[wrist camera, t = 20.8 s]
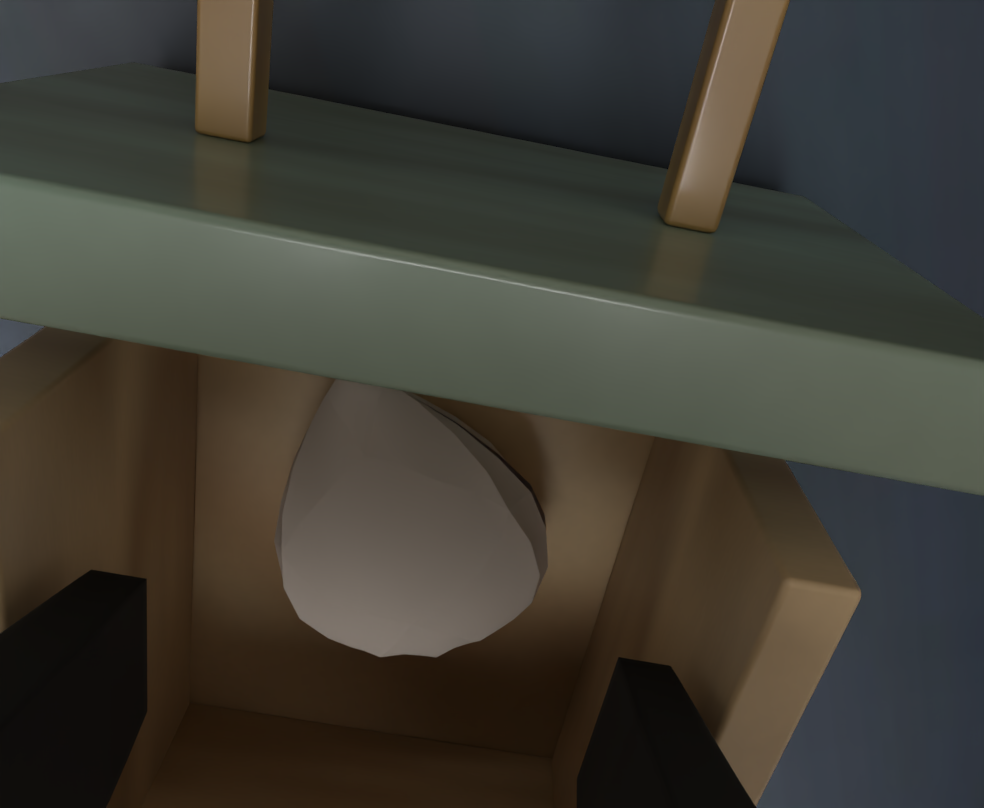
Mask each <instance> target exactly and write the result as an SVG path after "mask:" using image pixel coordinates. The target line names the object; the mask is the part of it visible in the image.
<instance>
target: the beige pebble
mask: <svg viewBox="0 0 984 808" xmlns="http://www.w3.org/2000/svg"><path fill="white" fill-rule="evenodd" d="M274 543H275V547H276V552H277V556H278V561H279V565H280V570H281V574H282V578H283V587H284V590H285V591H286V593H287V595H288V597H289V599H290V601H291V603H292V605H293V607H294V609H295V611H296V613H297V615H298V616H299V618H300V619H301V620H302V621H304V622H305V623H307V624H308V625H310V626H311V627H312V628H314V629H315V630H317V631H318V632H320V633H321V634H323V635H324V636H326V637H327V638H329V639H331V640H334V641H336V642H339V643H341V644H344V645H346V646H349V647H352V648H356V649H359V650H363V651H366V652H368V653H371V654H373V655H376V656H379V657H386V656H394V655H401V654H409V655H421V656H430V657H435V658H436V657H438V656H440V655H442V654H444V653H446V652H447V651H449V650H451V649H453V648H456V647H459V646H462V645H465V644H468V643H472V642H477V641H481V640H482V639H484V638H486V637H487V636H489V635H490V634H492V633H494V632H495V631H497V630H498V629H500V628H502V627H503V626H505V625H506V624H508V623H509V622H511V621H512V620H514V619H515V618H516V617H517V616H518V615H519V614H520V613H521V612H522V611H524V610H525V609H526V608H527V607H528V606H529V605H530V604H531V603H532V601H533V599H534V597H535V595H536V592H537V590H538V588H539V586H540V584H541V581H542V579H543V577H544V575H545V573H546V570H547V568H548V557H547V538H546V520H545V514H544V512H543V510H542V508H541V506H540V503H539V501H538V499H537V497H536V495H535V493H534V491H533V488H532V486H531V484H530V483H529V482H528V481H526V480H525V479H524V478H523V477H522V476H521V475H520V474H519V473H518V472H517V471H516V470H515V469H514V468H513V467H512V466H511V465H509V464H508V462H507V461H506V460H505V459H504V458H503V456H502V455H501V454H500V453H499V452H498V451H497V449H496V448H495V447H494V446H493V445H492V443H491V442H490V441H488V440H487V439H485V438H484V437H483V436H481V435H480V434H479V433H477V432H476V431H475V430H473V429H472V428H470V427H469V426H468V425H466V424H465V423H464V422H462V421H461V420H459V419H458V418H457V417H455V416H453V415H451V414H450V413H448V412H446V411H444V410H442V409H441V408H439V407H437V406H435V405H434V404H432V403H430V402H428V401H426V400H425V399H423V398H421V397H419V396H417V395H415V394H413V393H411V392H406V391H400V390H395V389H389V388H384V387H378V386H372V385H367V384H361V383H356V382H350V381H345V380H339V379H335V381H334V383H333V384H332V386H331V388H330V389H329V391H328V392H327V394H326V396H325V397H324V399H323V401H322V403H321V405H320V406H319V408H318V410H317V412H316V414H315V416H314V418H313V420H312V422H311V424H310V426H309V428H308V430H307V433H306V435H305V437H304V439H303V441H302V443H301V445H300V447H299V450H298V452H297V454H296V456H295V458H294V461H293V464H292V468H291V471H290V474H289V477H288V480H287V484H286V487H285V490H284V493H283V496H282V499H281V504H280V510H279V516H278V521H277V527H276V533H275V539H274Z"/></svg>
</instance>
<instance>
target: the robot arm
mask: <svg viewBox="0 0 984 808" xmlns="http://www.w3.org/2000/svg"><path fill="white" fill-rule="evenodd" d="M146 713H147V579H145V578H139V577H133V576H127V575H121V574H115V573H109V572H103V571H97V570H90V571H88V572H87V573H85V574H84V575H82V576H81V577H79V578H78V579H76V580H75V581H73V582H72V583H70V584H69V585H68V586H66V587H65V588H63V589H62V590H60V591H59V592H58V593H56V594H55V595H53V596H52V597H50V598H49V599H48V600H46V601H45V602H43V603H42V604H41V605H39V606H38V607H36V608H35V609H34V610H32V611H31V612H29V613H28V614H27V615H25V616H24V617H22V618H21V619H20V620H18V621H17V622H15V623H14V624H13V625H11V626H10V627H8V628H7V629H6V630H4V631H3V632H1V633H0V808H106V807H107V805H108V803H109V801H110V799H111V796H112V794H113V792H114V789H115V787H116V785H117V783H118V780H119V778H120V776H121V773H122V771H123V769H124V766H125V764H126V762H127V760H128V757H129V755H130V752H131V750H132V747H133V745H134V743H135V740H136V738H137V735H138V733H139V730H140V728H141V726H142V723H143V721H144V718H145V716H146ZM577 808H756V806H755V805H754V803H753V802H752V800H751V798H750V797H749V795H748V793H747V792H746V790H745V789H744V787H743V785H742V784H741V782H740V781H739V779H738V777H737V776H736V774H735V772H734V771H733V769H732V767H731V766H730V764H729V762H728V761H727V759H726V758H725V756H724V754H723V753H722V751H721V749H720V748H719V746H718V744H717V743H716V741H715V739H714V738H713V736H712V734H711V732H710V731H709V729H708V727H707V726H706V724H705V722H704V721H703V719H702V717H701V715H700V714H699V712H698V710H697V709H696V707H695V705H694V704H693V702H692V700H691V698H690V697H689V695H688V693H687V692H686V690H685V688H684V687H683V685H682V683H681V681H680V680H679V678H678V676H677V675H676V673H675V672H674V670H673V669H672V667H671V666H669V665H663V664H657V663H651V662H645V661H639V660H633V659H627V658H621V657H618V660H617V663H616V666H615V669H614V672H613V674H612V677H611V680H610V683H609V686H608V689H607V692H606V695H605V698H604V701H603V704H602V707H601V709H600V712H599V715H598V718H597V721H596V724H595V727H594V730H593V733H592V736H591V739H590V742H589V744H588V747H587V750H586V753H585V756H584V759H583V762H582V765H581V768H580V771H579V774H578V777H577Z"/></svg>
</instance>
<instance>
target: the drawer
mask: <svg viewBox="0 0 984 808" xmlns="http://www.w3.org/2000/svg"><path fill="white" fill-rule="evenodd" d="M273 2H274V0H197V44H196V75H195V74H190V73H185V72H180V71H175V70H170V69H165V68H160V67H155V66H150V65H145V64H140V63H135V62H133V63H127V64H120V65H114V66H107V67H101V68H95V69H88V70H82V71H76V72H69V73H63V74H56V75H50V76H44V77H37V78H31V79H24V80H18V81H12V82H5V83H0V318H1V319H7V320H13V321H18V322H24V323H29V324H35V325H40V326H45V327H44V328H42V329H41V330H40V331H38V332H37V333H35V334H34V335H32V336H31V337H29V338H28V339H26V340H25V341H24V342H22V343H21V344H19V345H18V346H16V347H15V348H13V349H12V350H10V351H9V352H8V353H6V354H5V355H3V356H2V357H0V633H1V632H3V631H4V630H6V629H7V628H8V627H10V626H11V625H13V624H14V623H15V622H17V621H18V620H20V619H21V618H22V617H24V616H25V615H27V614H28V613H29V612H31V611H32V610H34V609H35V608H36V607H38V606H39V605H41V604H42V603H43V602H45V601H46V600H48V599H49V598H50V597H52V596H53V595H55V594H56V593H58V592H59V591H60V590H62V589H63V588H65V587H66V586H68V585H69V584H70V583H72V582H73V581H75V580H76V579H78V578H79V577H81V576H82V575H84V574H85V573H87V572H88V571H90V570H97V571H103V572H109V573H115V574H121V575H127V576H133V577H139V578H145V579H147V713H146V716H145V718H144V721H143V723H142V726H141V728H140V730H139V733H138V735H137V738H136V740H135V743H134V745H133V747H132V750H131V752H130V755H129V757H128V760H127V762H126V764H125V766H124V769H123V771H122V773H121V776H120V778H119V780H118V783H117V785H116V787H115V789H114V792H113V794H112V796H111V799H110V801H109V803H108V805H107V807H106V808H577V777H578V774H579V771H580V768H581V765H582V762H583V759H584V756H585V753H586V750H587V747H588V744H589V742H590V739H591V736H592V733H593V730H594V727H595V724H596V721H597V718H598V715H599V712H600V709H601V707H602V704H603V701H604V698H605V695H606V692H607V689H608V686H609V683H610V680H611V677H612V674H613V672H614V669H615V666H616V663H617V660H618V657H621V658H627V659H633V660H639V661H645V662H651V663H657V664H663V665H669V666H671V667H672V669H673V670H674V672H675V673H676V675H677V676H678V678H679V680H680V681H681V683H682V685H683V687H684V688H685V690H686V692H687V693H688V695H689V697H690V698H691V700H692V702H693V704H694V705H695V707H696V709H697V710H698V712H699V714H700V715H701V717H702V719H703V721H704V722H705V724H706V726H707V727H708V729H709V731H710V732H711V734H712V736H713V738H714V739H715V741H716V743H717V744H718V746H719V748H720V749H721V751H722V753H723V754H724V756H725V758H726V759H727V761H728V762H729V764H730V766H731V767H732V769H733V771H734V772H735V774H736V776H737V777H738V779H739V781H740V782H741V784H742V785H743V787H744V789H745V790H746V792H747V793H748V795H749V797H750V798H751V800H752V802H753V803H754V805H755V806H757V804H758V802H759V800H760V798H761V796H762V794H763V792H764V790H765V788H766V786H767V784H768V782H769V780H770V778H771V776H772V774H773V772H774V770H775V768H776V766H777V764H778V762H779V760H780V758H781V756H782V754H783V752H784V750H785V748H786V746H787V744H788V742H789V740H790V738H791V736H792V734H793V732H794V730H795V728H796V726H797V724H798V722H799V720H800V718H801V716H802V714H803V712H804V710H805V708H806V706H807V704H808V702H809V700H810V698H811V696H812V694H813V692H814V690H815V688H816V686H817V684H818V682H819V680H820V678H821V676H822V674H823V673H824V671H825V669H826V667H827V665H828V663H829V661H830V659H831V657H832V655H833V653H834V651H835V649H836V647H837V645H838V643H839V641H840V639H841V637H842V635H843V633H844V631H845V629H846V627H847V625H848V623H849V621H850V619H851V617H852V615H853V613H854V611H855V609H856V607H857V605H858V603H859V601H860V599H861V590H860V588H859V586H858V585H857V583H856V581H855V580H854V578H853V576H852V574H851V573H850V571H849V569H848V568H847V566H846V564H845V562H844V561H843V559H842V557H841V556H840V554H839V552H838V550H837V549H836V547H835V545H834V544H833V542H832V540H831V538H830V537H829V535H828V533H827V532H826V530H825V528H824V526H823V525H822V523H821V521H820V520H819V518H818V516H817V514H816V513H815V511H814V509H813V508H812V506H811V504H810V502H809V501H808V499H807V497H806V496H805V494H804V492H803V490H802V489H801V487H800V485H799V484H798V482H797V480H796V478H795V477H794V475H793V473H792V472H791V470H790V468H789V466H788V465H787V463H786V461H785V460H788V461H793V462H799V463H804V464H810V465H815V466H821V467H826V468H832V469H838V470H843V471H849V472H854V473H860V474H865V475H871V476H876V477H882V478H887V479H893V480H898V481H904V482H910V483H915V484H921V485H926V486H932V487H937V488H943V489H948V490H954V491H959V492H965V493H970V494H976V495H982V496H984V318H982V317H981V316H979V315H978V314H976V313H975V312H973V311H972V310H970V309H969V308H967V307H966V306H965V305H963V304H962V303H960V302H959V301H957V300H956V299H954V298H953V297H951V296H950V295H948V294H947V293H945V292H944V291H942V290H941V289H939V288H938V287H937V286H935V285H934V284H932V283H931V282H929V281H928V280H926V279H925V278H923V277H922V276H920V275H919V274H917V273H916V272H914V271H913V270H911V269H910V268H908V267H907V266H906V265H904V264H903V263H901V262H900V261H898V260H897V259H895V258H894V257H892V256H891V255H889V254H888V253H886V252H885V251H883V250H882V249H880V248H879V247H878V246H876V245H875V244H873V243H872V242H870V241H869V240H867V239H866V238H864V237H863V236H861V235H860V234H858V233H857V232H855V231H854V230H852V229H851V228H850V227H848V226H847V225H845V224H844V223H842V222H841V221H839V220H838V219H836V218H835V217H833V216H832V215H830V214H829V213H827V212H826V211H824V210H823V209H822V208H820V207H819V206H817V205H816V204H814V203H813V202H811V201H810V200H808V199H807V198H805V197H804V196H799V195H794V194H789V193H784V192H779V191H774V190H769V189H764V188H759V187H754V186H749V185H744V184H739V183H734V182H733V179H734V176H735V172H736V169H737V166H738V163H739V160H740V157H741V154H742V150H743V147H744V144H745V141H746V138H747V135H748V132H749V128H750V125H751V122H752V119H753V116H754V113H755V109H756V106H757V103H758V100H759V97H760V94H761V91H762V87H763V84H764V81H765V78H766V75H767V72H768V68H769V65H770V62H771V59H772V56H773V53H774V50H775V46H776V43H777V40H778V37H779V34H780V31H781V27H782V24H783V21H784V18H785V15H786V12H787V9H788V5H789V2H790V0H715V3H714V7H713V10H712V14H711V17H710V21H709V25H708V28H707V32H706V35H705V39H704V42H703V46H702V50H701V53H700V57H699V60H698V64H697V68H696V71H695V75H694V78H693V82H692V85H691V89H690V93H689V96H688V100H687V103H686V107H685V110H684V114H683V118H682V121H681V125H680V128H679V132H678V135H677V139H676V143H675V146H674V150H673V153H672V157H671V160H670V164H669V168H668V169H664V168H659V167H654V166H649V165H644V164H639V163H634V162H629V161H624V160H619V159H614V158H609V157H604V156H599V155H594V154H589V153H584V152H579V151H574V150H569V149H564V148H559V147H554V146H549V145H544V144H539V143H534V142H529V141H524V140H519V139H514V138H509V137H504V136H499V135H494V134H489V133H484V132H479V131H474V130H469V129H464V128H459V127H454V126H449V125H445V124H440V123H435V122H430V121H425V120H420V119H415V118H410V117H405V116H400V115H395V114H390V113H385V112H380V111H375V110H370V109H365V108H360V107H355V106H350V105H345V104H340V103H335V102H330V101H325V100H320V99H315V98H310V97H305V96H300V95H295V94H290V93H285V92H280V91H275V90H270V89H268V88H269V70H270V53H271V36H272V19H273ZM335 379H339V380H345V381H350V382H356V383H361V384H367V385H372V386H378V387H384V388H389V389H395V390H400V391H406V392H411V393H413V394H415V395H417V396H419V397H421V398H423V399H425V400H426V401H428V402H430V403H432V404H434V405H435V406H437V407H439V408H441V409H442V410H444V411H446V412H448V413H450V414H451V415H453V416H455V417H457V418H458V419H459V420H461V421H462V422H464V423H465V424H466V425H468V426H469V427H470V428H472V429H473V430H475V431H476V432H477V433H479V434H480V435H481V436H483V437H484V438H485V439H487V440H488V441H490V442H491V443H492V445H493V446H494V447H495V448H496V449H497V451H498V452H499V453H500V454H501V455H502V456H503V458H504V459H505V460H506V461H507V462H508V464H509V465H511V466H512V467H513V468H514V469H515V470H516V471H517V472H518V473H519V474H520V475H521V476H522V477H523V478H524V479H525V480H526V481H528V482H529V483H530V484H531V486H532V488H533V491H534V493H535V495H536V497H537V499H538V501H539V503H540V506H541V508H542V510H543V512H544V514H545V520H546V538H547V557H548V568H547V570H546V573H545V575H544V577H543V579H542V581H541V584H540V586H539V588H538V590H537V592H536V595H535V597H534V599H533V601H532V603H531V604H530V605H529V606H528V607H527V608H526V609H525V610H524V611H522V612H521V613H520V614H519V615H518V616H517V617H516V618H515V619H514V620H512V621H511V622H509V623H508V624H506V625H505V626H503V627H502V628H500V629H498V630H497V631H495V632H494V633H492V634H490V635H489V636H487V637H486V638H484V639H482V640H481V641H477V642H472V643H468V644H465V645H462V646H459V647H456V648H453V649H451V650H449V651H447V652H446V653H444V654H442V655H440V656H438V657H436V658H435V657H430V656H421V655H409V654H401V655H394V656H386V657H379V656H376V655H373V654H371V653H368V652H366V651H363V650H359V649H356V648H352V647H349V646H346V645H344V644H341V643H339V642H336V641H334V640H331V639H329V638H327V637H326V636H324V635H323V634H321V633H320V632H318V631H317V630H315V629H314V628H312V627H311V626H310V625H308V624H307V623H305V622H304V621H302V620H301V619H300V618H299V616H298V615H297V613H296V611H295V609H294V607H293V605H292V603H291V601H290V599H289V597H288V595H287V593H286V591H285V590H284V587H283V578H282V574H281V570H280V565H279V561H278V556H277V552H276V547H275V543H274V539H275V533H276V527H277V521H278V516H279V510H280V504H281V499H282V496H283V493H284V490H285V487H286V484H287V480H288V477H289V474H290V471H291V468H292V464H293V461H294V458H295V456H296V454H297V452H298V450H299V447H300V445H301V443H302V441H303V439H304V437H305V435H306V433H307V430H308V428H309V426H310V424H311V422H312V420H313V418H314V416H315V414H316V412H317V410H318V408H319V406H320V405H321V403H322V401H323V399H324V397H325V396H326V394H327V392H328V391H329V389H330V388H331V386H332V384H333V383H334V381H335Z"/></svg>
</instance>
